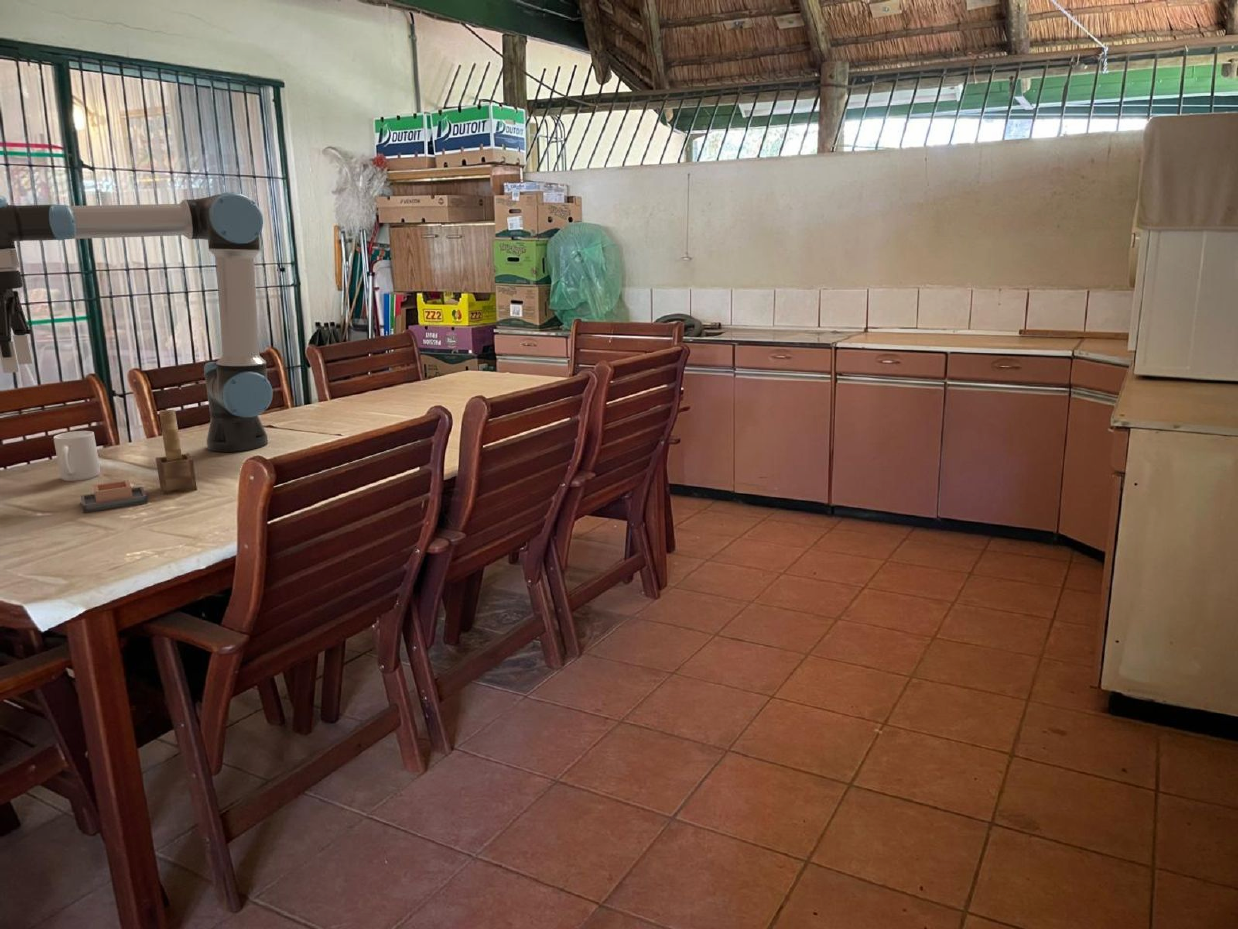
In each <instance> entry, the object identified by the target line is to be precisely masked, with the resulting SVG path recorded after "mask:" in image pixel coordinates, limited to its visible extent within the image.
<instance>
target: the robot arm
mask: <svg viewBox="0 0 1238 929" xmlns="http://www.w3.org/2000/svg"><path fill="white" fill-rule="evenodd" d="M263 226H264V217H263V213H262V211H261V209H260V207H259V205H258V204H257V203H256V201H254V200H253V199H252V198H250V197H249V196H247V195H245V194H241V193H239V192H234V191H231V192H230V191H229V192H222V193H221V194H214V195H210V196H208V197H202V198H201V197H200V198H194V199H193V198H192V199H182V200H181V201H180V202H179V203H164V204H162V203H160V204H159V203H158V204H157V203H156V204H154V203H153V204H151V203H149V204H110V205H109V204H107V205H106V204H104V205H103V204H102V205H99V204H97V205H92V204H91V205H67V204H55V203H54V204H53V203H52V204H30V205H28V204H25V205H17V204H16V205H15V204H13V205H12V204H9V203H8V201H7V198H6V197H5V196H3V195H0V362H1V368H2V371H3V372H2V373H3V374H10V373H19V372H20V369H19V365H30V364H32V365H33V356H32V352H31V346H30V342H29V341H30V340H29V336H28V335H31V334H32V331H31V329H30V328H29V326H28V325H29V324H28V323H27V322H28V321H27V319H26V316H25V313H24V309H23V306H22V303H21V300H20V297H19V292H18V290H14V289H21V288H22V287H23V286H24V284H23V279H22V274H21V271H20V270H18V268H20V263H19V257H18V252H17V249H16V244H15V243H16V242H24V241H25V242H26V241H29V242H30V241H32V242H34V241H35V242H36V241H38V242H39V241H63V240H81V239H83V240H84V239H110V238H111V239H112V238H113V239H115V238H116V239H117V238H142V237H143V238H144V237H145V238H146V237H148V238H149V237H173V236H174V237H175V236H176V237H177V236H178V237H179V236H184V237H186V238H187V239H188V240H207V244H208V251H209V252H210V253H212V255H214V257H215V260H216V261H215V262H216V263H215V264H216V275H217V276H216V277H217V291H218V292H217V293H218V295H217V296H218V305H219V307H218V308H219V322H220V337H221V352H222V353H221V354H222V355H221V357H220V358H219V359H218V360H217V361H211V362H207V363H205V365H203V366H204V367H203V370H204V373H203V376H204V378H205V387H206V394H207V400H208V402H207V403H208V408H209V415H210V423H209V427H208V432H207V435H206V436H207V437H206V446H207V447H206V449H207V450H209V451H210V452H211V451H212V452H217V453H229V452H231V453H232V452H233V453H234V452H241V451H242V452H243V451H249V450H254V449H258V448H262V447H265V446H266V445H268V443H269V442H268V441H269V440H268V434H267V432H266V430H265V428H264V426H263V423H262V422H261V419H260V417H259V415H260V414H262V413H264V412H265V411H266V410H268V408H269V406H270V405H271V403H272V401H273V392H274V391H273V387H272V385H271V382H270V381H269V379H268V372H267V361H266V360H265V359H264V358H263V357H261V356H260V344H259V343H260V342H259V324H258V311H257V310H258V307H257V290H256V289H257V288H256V287H257V286H256V274H255V258H256V256H257V255H258V254H259V253H260V251H261V246H260V245H261V244H260V240H261V239H260V234H262V230H263ZM12 333H13V334H14V335H12ZM12 338H13V341H12Z"/></svg>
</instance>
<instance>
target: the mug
mask: <svg viewBox="0 0 1238 929" xmlns="http://www.w3.org/2000/svg"><path fill="white" fill-rule="evenodd" d="M53 444H54V448H55V453H56V458H57V464H58V469H59V471H58V472H59V474H60V478H61V480H63V481H66V482H78V481H86V480H91V479H94V478H96V477H98V476H100V474H101V468H100V467H101V466H100V460H99V454H98V451H97V450H98V448H97V442H96V439H95V432H94V431H90V430H78V431H75V430H74V431H68V432H62V433H59V434H57V435H54V436H53Z"/></svg>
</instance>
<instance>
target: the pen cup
mask: <svg viewBox="0 0 1238 929" xmlns="http://www.w3.org/2000/svg"><path fill="white" fill-rule="evenodd" d="M181 454H182V460H180V461H172V462H167V461H166V456H161V457H156V458H155V462H156V468H157V475H158V481H159V488H160V490H161V492H162V495H170V494H179V493H184V492H185V493H187V492H191V491H197V490H198V487H197V486H198V485H197V480H196V479H197V478H196V472H195V466H194V460H193V458H192V456H191V455H190V453H181Z"/></svg>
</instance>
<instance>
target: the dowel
mask: <svg viewBox="0 0 1238 929" xmlns="http://www.w3.org/2000/svg"><path fill="white" fill-rule="evenodd" d="M158 413H159V420H160V427H161V432H162V434H161V435H162V441H163V446H164V452H165V453H164V454H165V457H166V461H167V462H172V461H180V460H182V454H183V453H182V449H181V443H180V442H181V441H180V433H179V427H178V422H177V413H176V410H175V409H164V410H160V411H159V412H158Z"/></svg>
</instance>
